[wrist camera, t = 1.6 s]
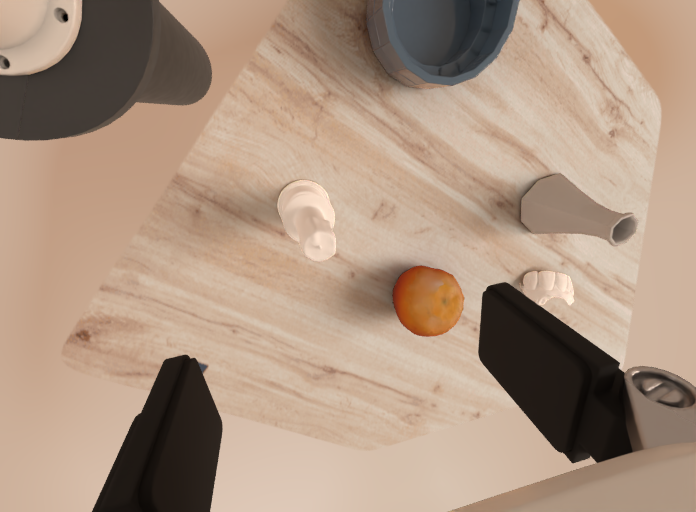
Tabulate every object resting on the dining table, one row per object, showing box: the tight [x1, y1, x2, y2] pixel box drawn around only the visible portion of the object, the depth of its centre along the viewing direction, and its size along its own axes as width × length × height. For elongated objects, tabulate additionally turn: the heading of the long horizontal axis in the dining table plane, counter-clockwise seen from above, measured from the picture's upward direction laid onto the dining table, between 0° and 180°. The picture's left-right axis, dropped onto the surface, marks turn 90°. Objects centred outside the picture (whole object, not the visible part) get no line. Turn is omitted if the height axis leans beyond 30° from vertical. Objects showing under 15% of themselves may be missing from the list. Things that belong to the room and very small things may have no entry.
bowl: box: [366, 0, 520, 89], centre depth 26 cm, size 11×11×5 cm
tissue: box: [520, 271, 575, 305], centre depth 43 cm, size 6×8×4 cm
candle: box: [277, 180, 336, 262], centre depth 28 cm, size 5×5×12 cm
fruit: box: [392, 266, 464, 336], centre depth 38 cm, size 8×8×8 cm
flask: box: [521, 173, 638, 246], centre depth 35 cm, size 7×7×10 cm
